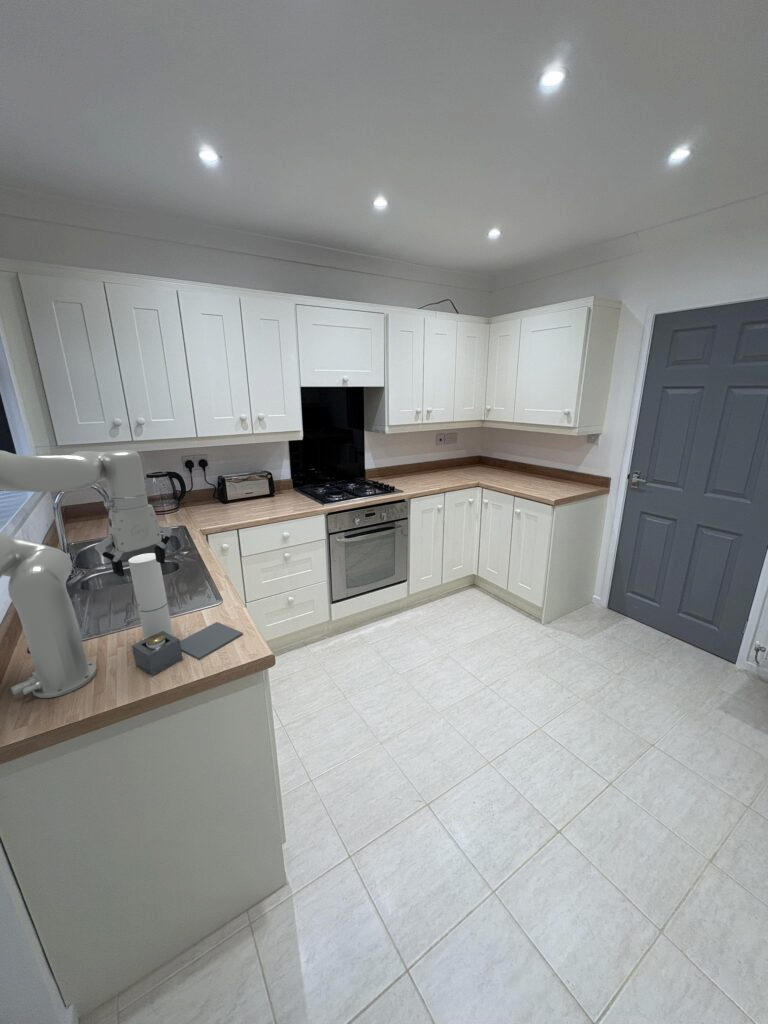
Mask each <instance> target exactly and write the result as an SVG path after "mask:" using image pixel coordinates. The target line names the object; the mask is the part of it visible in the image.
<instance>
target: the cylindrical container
mask: <svg viewBox="0 0 768 1024" xmlns="http://www.w3.org/2000/svg"><path fill="white" fill-rule="evenodd" d="M128 565H129V570H130V575H131V580H132V586H133V589H134V595H135V599H136V604H137V610H138V614H139V620H140V624H141V625H140V626H141V630H142V634H143V640H144V639H147V638H148V637H150V636H152V635H155V634H157V633H159V632H161V631H164V632H166V633H168V634H170V635H172V636H174V633H173V628H172V627H173V626H172V621H171V616H170V609H169V603H168V599H167V593H166V588H165V582H164V577H163V572H162V566H161V565H162V564H161V563H159V562H157V561H156V556H155V552H150V553H149V552H147V553H142V554H138V555H134V556H132V557H131V558H129V559H128Z"/></svg>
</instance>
